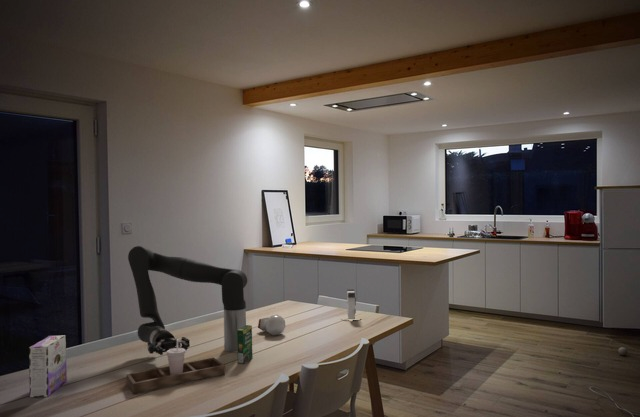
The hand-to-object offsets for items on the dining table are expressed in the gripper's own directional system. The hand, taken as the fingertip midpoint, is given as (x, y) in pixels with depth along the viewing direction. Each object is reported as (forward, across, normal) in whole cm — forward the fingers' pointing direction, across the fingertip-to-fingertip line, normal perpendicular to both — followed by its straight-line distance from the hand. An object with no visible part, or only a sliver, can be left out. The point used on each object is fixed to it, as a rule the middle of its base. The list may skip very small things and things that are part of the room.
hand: (174, 349), depth 168 cm
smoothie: (+3, 0, +9) cm, 10 cm away
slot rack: (+3, 0, +10) cm, 10 cm away
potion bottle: (-32, +55, +10) cm, 64 cm away
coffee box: (-2, +28, +10) cm, 30 cm away
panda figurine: (-33, +103, +10) cm, 109 cm away
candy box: (-13, -38, +10) cm, 41 cm away
